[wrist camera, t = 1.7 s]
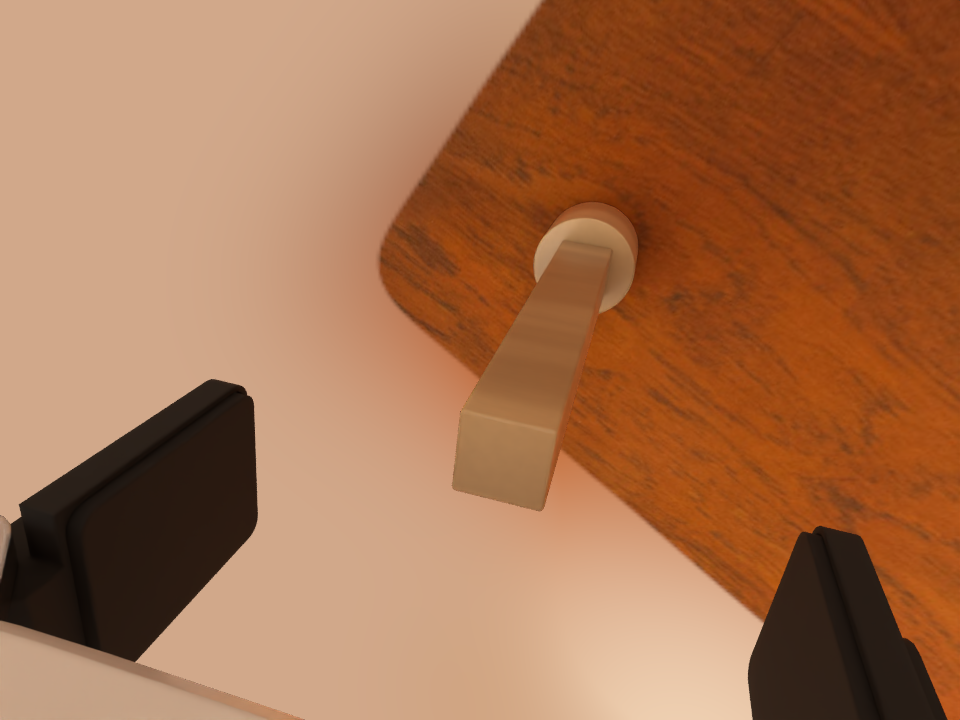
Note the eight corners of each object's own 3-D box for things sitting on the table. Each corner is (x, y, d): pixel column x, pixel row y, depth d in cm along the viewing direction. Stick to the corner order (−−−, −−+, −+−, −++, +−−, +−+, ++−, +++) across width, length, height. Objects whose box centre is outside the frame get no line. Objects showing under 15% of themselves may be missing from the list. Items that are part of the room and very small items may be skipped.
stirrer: (554, 194, 26) (416, 354, 12) (647, 209, 25) (619, 398, 11) (540, 282, 27) (403, 516, 13) (627, 298, 27) (581, 563, 13)
